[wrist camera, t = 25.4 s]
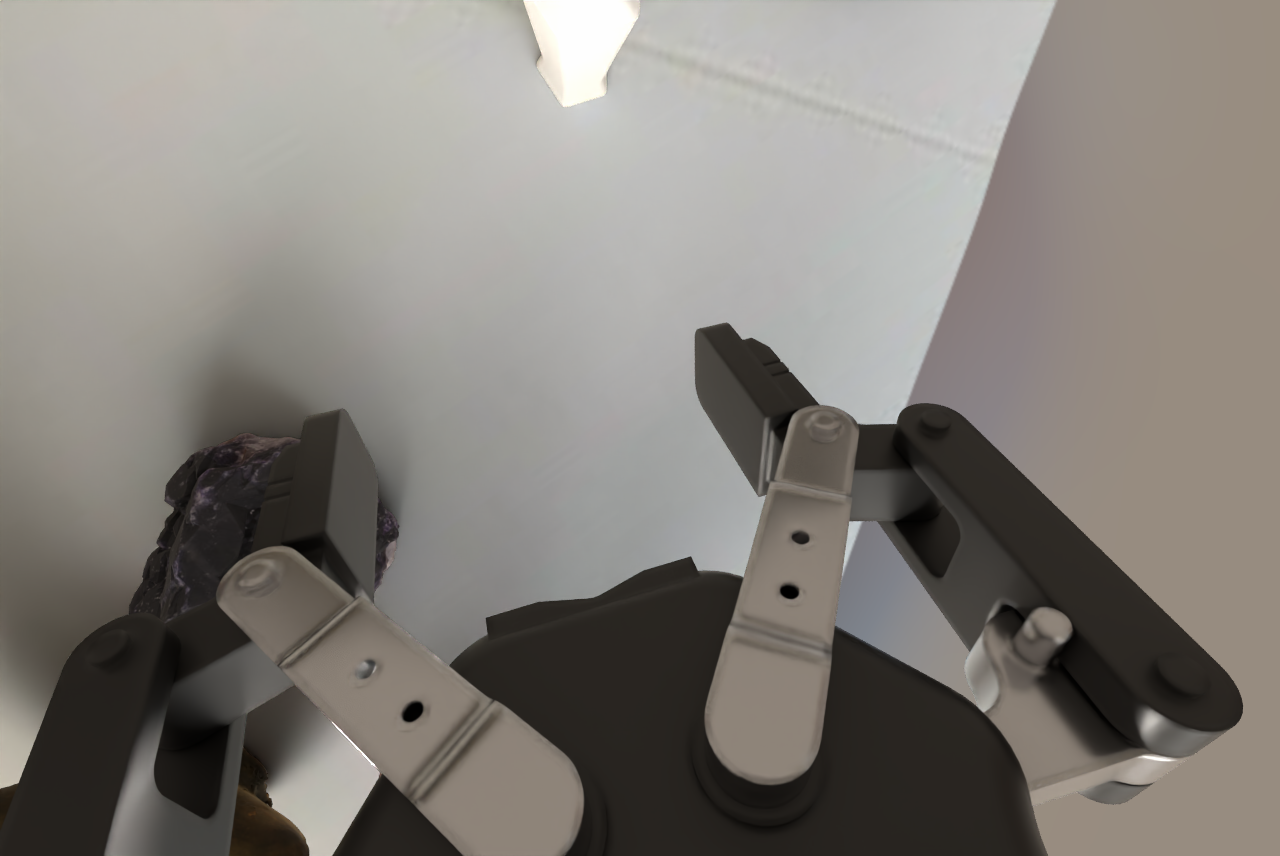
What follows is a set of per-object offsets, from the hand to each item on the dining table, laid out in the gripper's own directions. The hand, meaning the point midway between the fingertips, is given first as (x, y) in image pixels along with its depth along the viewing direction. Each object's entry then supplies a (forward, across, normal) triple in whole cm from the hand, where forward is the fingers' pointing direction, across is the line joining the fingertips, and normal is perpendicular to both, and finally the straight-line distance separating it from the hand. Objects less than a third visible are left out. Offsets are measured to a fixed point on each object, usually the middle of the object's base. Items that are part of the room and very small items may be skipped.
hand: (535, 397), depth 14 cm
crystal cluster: (+19, +16, +20) cm, 31 cm away
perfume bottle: (+25, -7, -2) cm, 26 cm away
